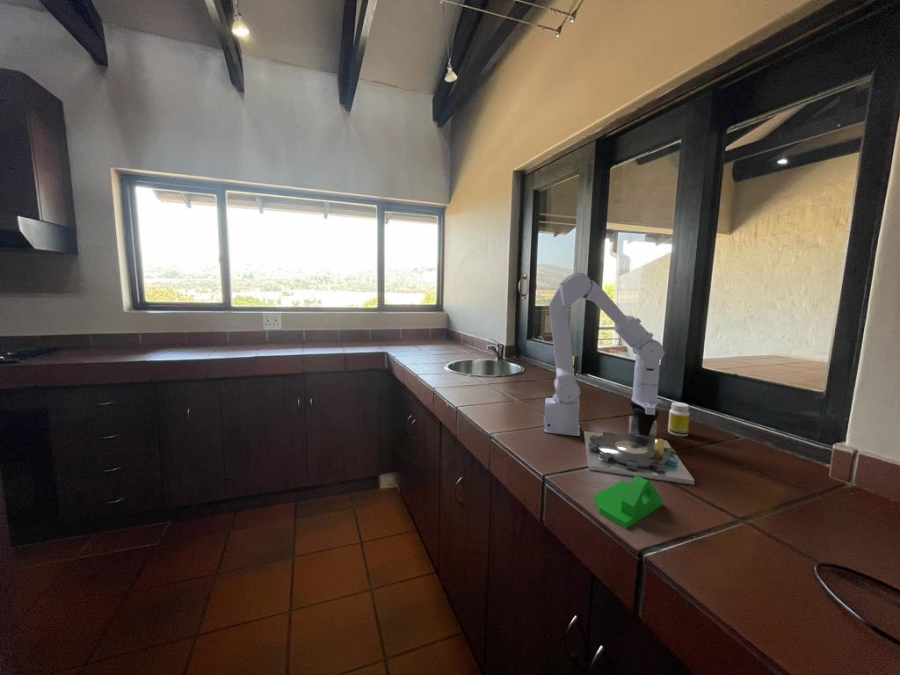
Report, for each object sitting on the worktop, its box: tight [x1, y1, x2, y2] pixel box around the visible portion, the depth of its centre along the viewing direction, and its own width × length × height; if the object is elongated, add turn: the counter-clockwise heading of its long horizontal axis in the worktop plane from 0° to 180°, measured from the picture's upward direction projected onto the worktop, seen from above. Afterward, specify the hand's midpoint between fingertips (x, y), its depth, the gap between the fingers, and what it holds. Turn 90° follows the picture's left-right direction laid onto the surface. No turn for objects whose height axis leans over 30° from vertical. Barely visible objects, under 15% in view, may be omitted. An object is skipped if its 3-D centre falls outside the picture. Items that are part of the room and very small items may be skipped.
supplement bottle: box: [667, 401, 691, 437], centre depth 96 cm, size 5×5×8 cm
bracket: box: [594, 476, 663, 529], centre depth 63 cm, size 12×8×7 cm, turn 123°
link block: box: [627, 415, 658, 439], centre depth 94 cm, size 6×4×5 cm, turn 72°
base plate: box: [583, 431, 696, 486], centre depth 83 cm, size 20×20×1 cm
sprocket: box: [588, 431, 680, 471], centre depth 82 cm, size 19×19×5 cm
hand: (642, 431), depth 94 cm, fingers open, 4 cm apart
